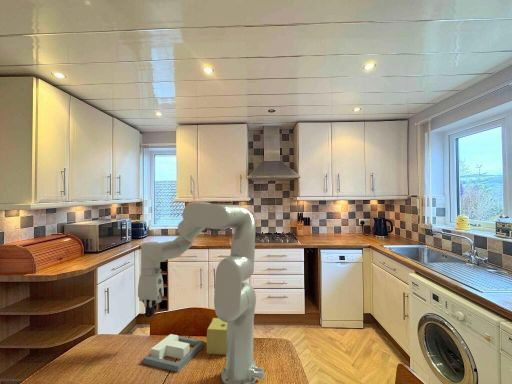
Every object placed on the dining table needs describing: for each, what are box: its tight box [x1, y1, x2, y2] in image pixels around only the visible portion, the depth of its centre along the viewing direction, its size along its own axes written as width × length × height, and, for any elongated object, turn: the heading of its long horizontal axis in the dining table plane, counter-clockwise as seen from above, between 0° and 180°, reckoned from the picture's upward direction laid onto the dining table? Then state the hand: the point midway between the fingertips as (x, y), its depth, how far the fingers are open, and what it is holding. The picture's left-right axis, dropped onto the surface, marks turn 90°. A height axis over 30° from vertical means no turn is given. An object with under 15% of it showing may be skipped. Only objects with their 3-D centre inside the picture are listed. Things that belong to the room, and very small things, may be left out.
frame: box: [142, 335, 205, 373], centre depth 99 cm, size 16×18×2 cm
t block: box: [150, 333, 190, 360], centre depth 100 cm, size 12×12×4 cm
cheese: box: [206, 317, 227, 356], centre depth 104 cm, size 10×11×10 cm
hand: (149, 315), depth 104 cm, fingers closed
